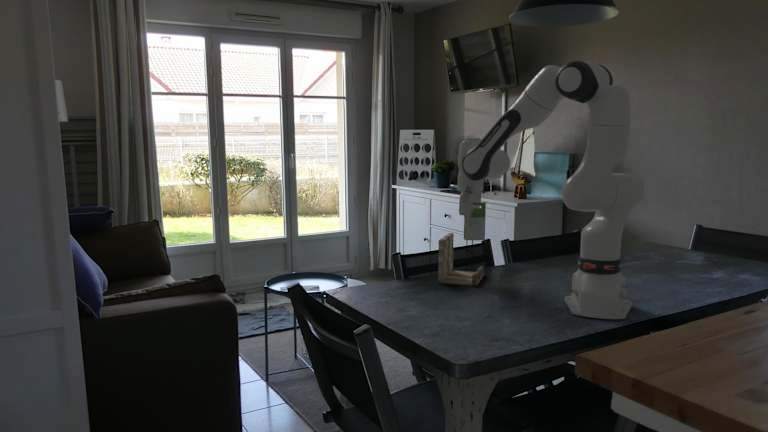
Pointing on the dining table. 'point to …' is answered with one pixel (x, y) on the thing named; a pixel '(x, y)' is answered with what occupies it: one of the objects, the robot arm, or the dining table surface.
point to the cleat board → (446, 266)
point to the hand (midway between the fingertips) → (469, 225)
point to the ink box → (476, 223)
